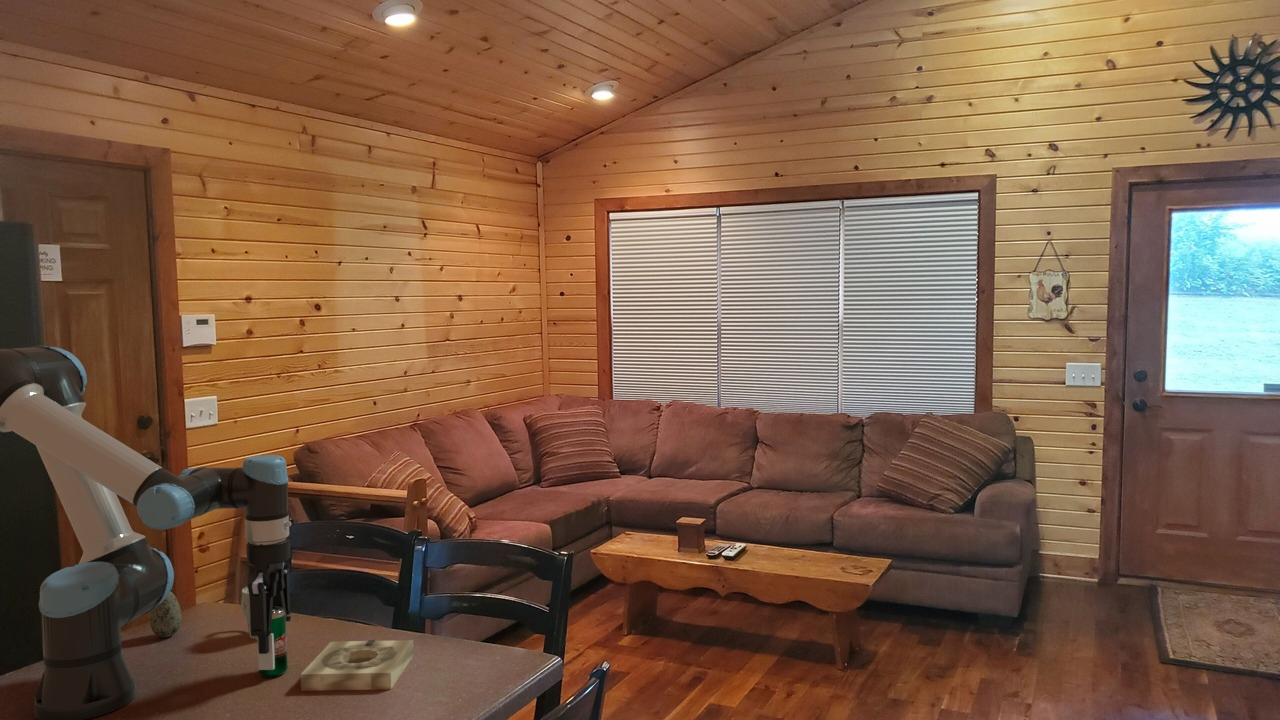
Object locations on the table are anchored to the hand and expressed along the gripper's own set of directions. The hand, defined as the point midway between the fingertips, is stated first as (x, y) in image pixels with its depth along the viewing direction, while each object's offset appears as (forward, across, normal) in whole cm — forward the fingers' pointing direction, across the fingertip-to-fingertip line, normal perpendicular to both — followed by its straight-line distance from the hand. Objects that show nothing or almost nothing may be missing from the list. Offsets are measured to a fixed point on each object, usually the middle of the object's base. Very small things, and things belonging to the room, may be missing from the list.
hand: (272, 662), depth 173 cm
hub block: (+2, 0, -16) cm, 16 cm away
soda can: (+2, 0, 0) cm, 2 cm away
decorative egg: (+3, +21, +31) cm, 37 cm away
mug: (+2, +22, +12) cm, 25 cm away
